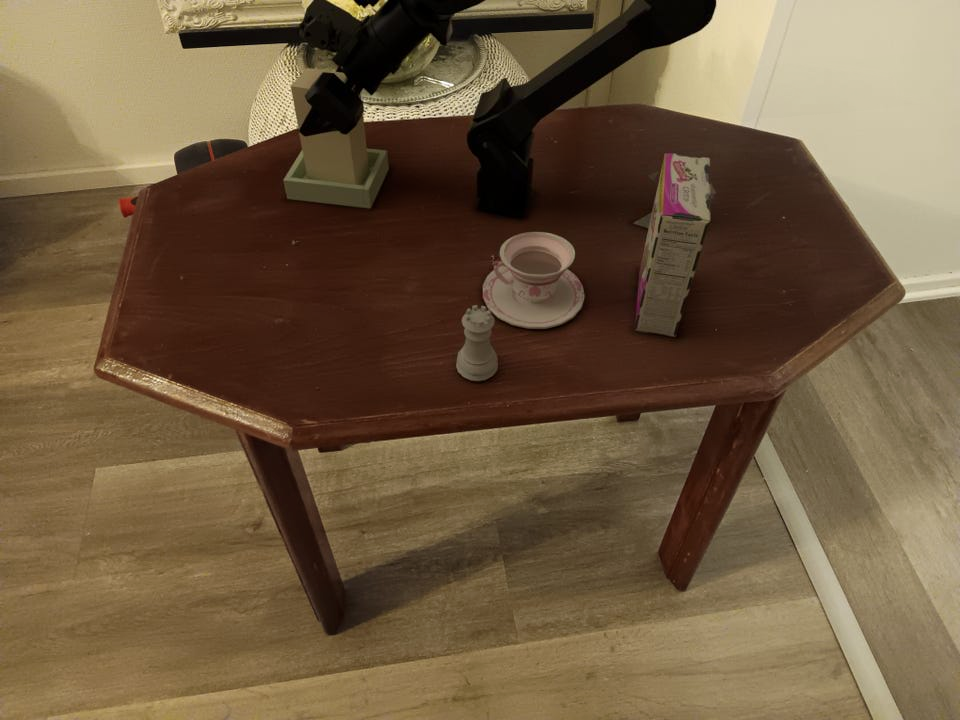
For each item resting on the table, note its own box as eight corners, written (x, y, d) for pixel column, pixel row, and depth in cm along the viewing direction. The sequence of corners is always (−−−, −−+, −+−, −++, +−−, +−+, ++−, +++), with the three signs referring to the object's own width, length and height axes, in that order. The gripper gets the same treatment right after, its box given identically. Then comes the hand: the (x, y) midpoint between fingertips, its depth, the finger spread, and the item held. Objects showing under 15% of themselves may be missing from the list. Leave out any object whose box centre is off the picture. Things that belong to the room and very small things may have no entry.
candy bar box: (636, 269, 88) (664, 150, 76) (678, 275, 87) (712, 156, 75) (631, 333, 81) (660, 212, 69) (676, 339, 80) (713, 219, 68)
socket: (388, 169, 102) (387, 150, 100) (370, 208, 96) (368, 189, 93) (310, 160, 103) (306, 141, 101) (287, 199, 97) (283, 179, 95)
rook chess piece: (454, 353, 78) (454, 299, 72) (495, 351, 78) (498, 297, 72) (457, 384, 75) (457, 331, 69) (500, 382, 75) (503, 328, 69)
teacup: (569, 257, 89) (575, 216, 85) (596, 324, 81) (604, 283, 77) (474, 267, 88) (474, 226, 83) (492, 336, 80) (494, 295, 75)
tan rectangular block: (369, 171, 101) (358, 74, 90) (356, 191, 97) (344, 93, 87) (322, 164, 102) (306, 67, 91) (308, 183, 98) (290, 85, 88)
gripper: (360, -50, 86) (288, 35, 95) (309, 13, 73) (232, 104, 82) (427, 23, 91) (353, 97, 100) (390, 94, 78) (309, 171, 87)
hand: (313, 114), depth 92 cm, fingers open, 9 cm apart
